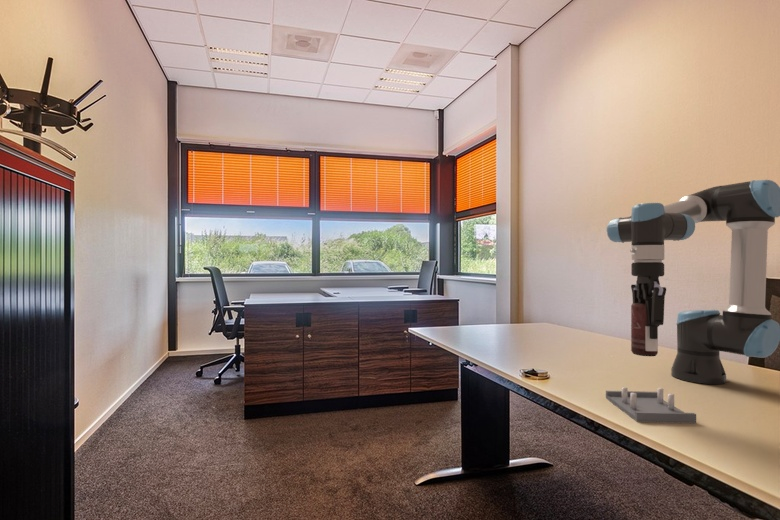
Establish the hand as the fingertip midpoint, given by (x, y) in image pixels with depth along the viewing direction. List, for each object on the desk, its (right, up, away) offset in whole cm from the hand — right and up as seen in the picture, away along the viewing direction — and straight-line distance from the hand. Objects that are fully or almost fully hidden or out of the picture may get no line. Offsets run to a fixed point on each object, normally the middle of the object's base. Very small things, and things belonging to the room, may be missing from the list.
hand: (647, 349), depth 113 cm
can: (0, -2, +1) cm, 2 cm away
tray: (0, -16, 0) cm, 16 cm away
